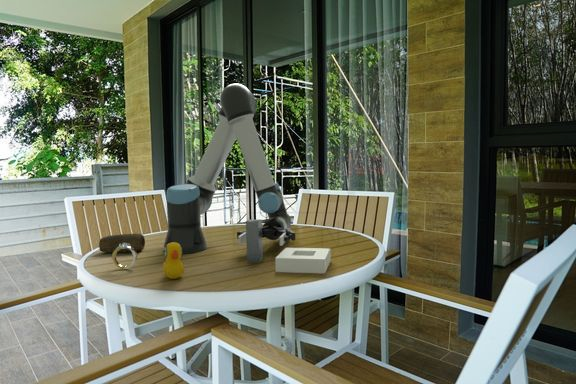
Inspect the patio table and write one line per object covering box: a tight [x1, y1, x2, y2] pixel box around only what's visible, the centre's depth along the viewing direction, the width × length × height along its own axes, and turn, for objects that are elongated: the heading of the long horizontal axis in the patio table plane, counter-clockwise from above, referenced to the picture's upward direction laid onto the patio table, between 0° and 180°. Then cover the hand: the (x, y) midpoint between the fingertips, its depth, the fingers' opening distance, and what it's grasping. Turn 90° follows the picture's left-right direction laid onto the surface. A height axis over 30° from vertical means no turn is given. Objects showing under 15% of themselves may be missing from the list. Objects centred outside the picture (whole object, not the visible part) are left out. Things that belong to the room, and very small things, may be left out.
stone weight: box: [98, 233, 146, 254], centre depth 148 cm, size 15×7×7 cm, turn 99°
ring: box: [111, 243, 138, 270], centre depth 122 cm, size 7×3×8 cm, turn 83°
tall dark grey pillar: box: [245, 219, 264, 264], centre depth 129 cm, size 4×4×13 cm
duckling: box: [162, 242, 185, 280], centre depth 112 cm, size 11×5×10 cm, turn 22°
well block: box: [274, 247, 331, 274], centre depth 121 cm, size 14×14×4 cm
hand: (259, 241), depth 130 cm, fingers open, 13 cm apart
